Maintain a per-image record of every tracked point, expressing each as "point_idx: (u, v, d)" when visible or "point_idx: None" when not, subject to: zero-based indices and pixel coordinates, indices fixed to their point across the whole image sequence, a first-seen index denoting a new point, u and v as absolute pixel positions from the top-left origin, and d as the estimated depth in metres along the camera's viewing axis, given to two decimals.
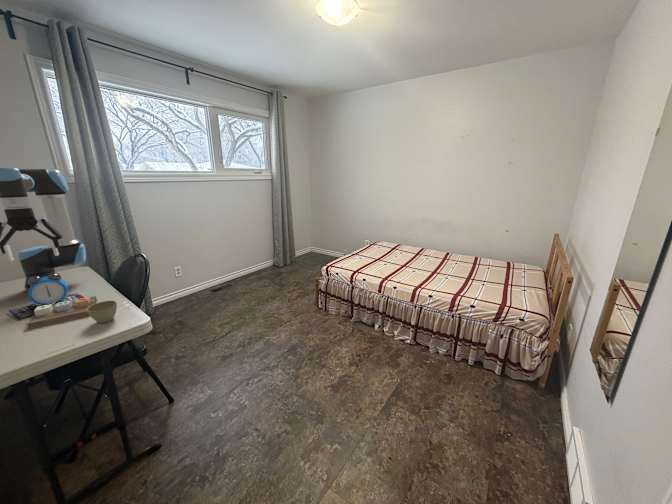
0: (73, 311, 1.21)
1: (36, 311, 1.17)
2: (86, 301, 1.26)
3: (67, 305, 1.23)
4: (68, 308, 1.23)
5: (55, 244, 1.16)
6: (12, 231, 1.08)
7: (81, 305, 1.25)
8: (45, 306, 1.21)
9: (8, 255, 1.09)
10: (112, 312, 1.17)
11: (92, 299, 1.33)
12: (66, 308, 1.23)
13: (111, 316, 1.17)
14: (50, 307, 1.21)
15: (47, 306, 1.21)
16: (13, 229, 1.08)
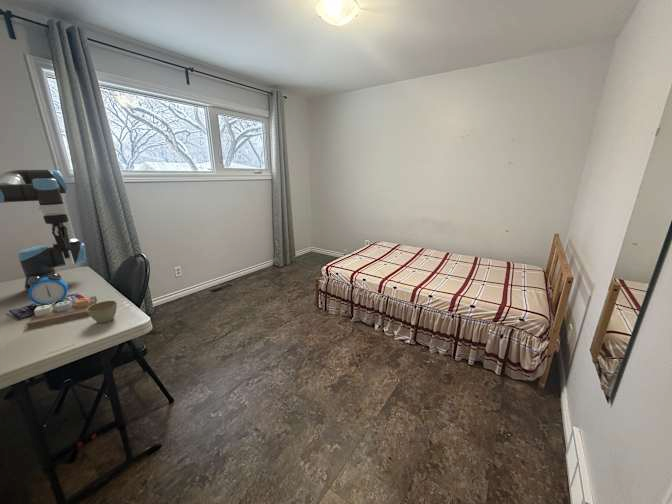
0: (73, 311, 1.21)
1: (36, 311, 1.17)
2: (86, 301, 1.26)
3: (67, 305, 1.23)
4: (68, 308, 1.23)
5: None
6: None
7: (81, 305, 1.25)
8: (45, 306, 1.21)
9: None
10: (112, 312, 1.17)
11: (92, 299, 1.33)
12: (66, 308, 1.23)
13: (111, 316, 1.17)
14: (50, 307, 1.21)
15: (47, 306, 1.21)
16: None
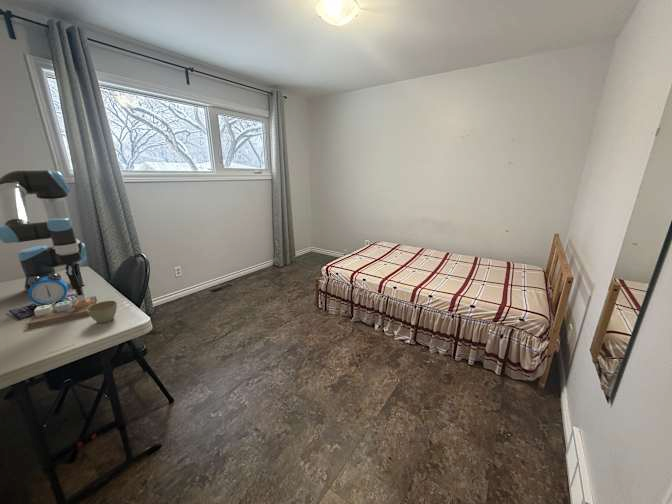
0: (73, 311, 1.21)
1: (36, 311, 1.17)
2: (86, 303, 1.26)
3: (67, 305, 1.23)
4: (68, 308, 1.23)
5: None
6: None
7: None
8: (45, 306, 1.21)
9: None
10: (112, 312, 1.17)
11: (92, 299, 1.33)
12: (66, 308, 1.23)
13: (111, 316, 1.17)
14: (50, 307, 1.21)
15: (47, 306, 1.21)
16: None
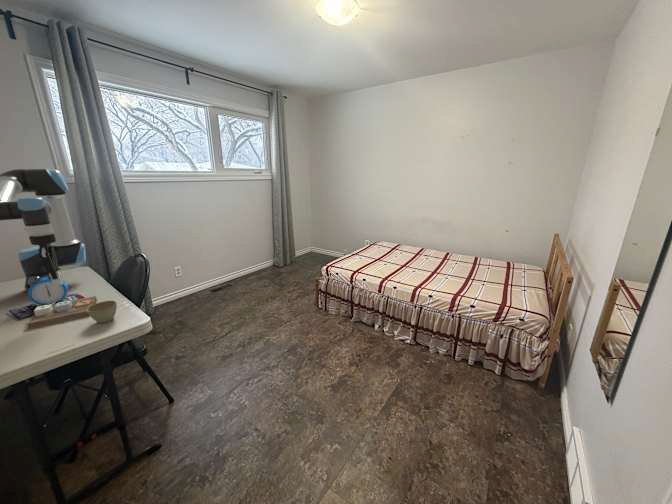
0: (73, 311, 1.21)
1: (36, 311, 1.17)
2: (87, 304, 1.27)
3: (67, 305, 1.23)
4: (68, 308, 1.23)
5: (52, 276, 1.19)
6: None
7: None
8: (45, 306, 1.21)
9: (52, 280, 1.20)
10: (112, 312, 1.17)
11: (92, 299, 1.33)
12: (66, 308, 1.23)
13: (111, 316, 1.17)
14: (50, 307, 1.21)
15: (47, 306, 1.21)
16: None
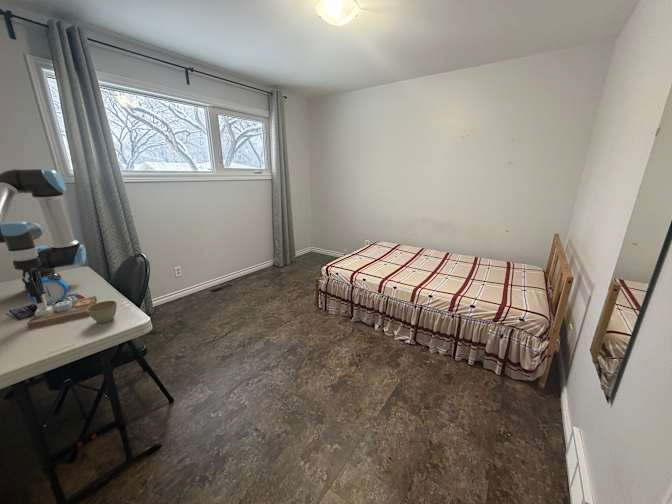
0: (73, 311, 1.21)
1: (37, 313, 1.18)
2: (87, 304, 1.27)
3: (67, 305, 1.23)
4: (68, 308, 1.23)
5: None
6: None
7: None
8: None
9: None
10: (112, 312, 1.17)
11: (92, 299, 1.33)
12: (66, 308, 1.23)
13: (111, 316, 1.17)
14: (51, 309, 1.21)
15: (48, 308, 1.21)
16: None
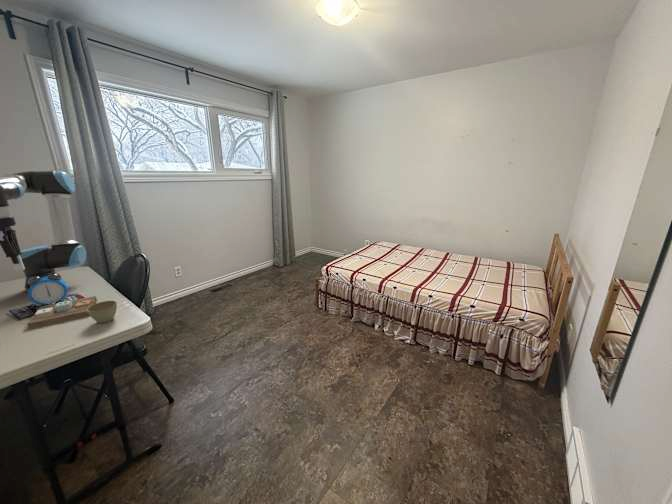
0: (73, 311, 1.21)
1: (37, 314, 1.18)
2: (87, 304, 1.27)
3: (67, 305, 1.23)
4: (68, 308, 1.23)
5: None
6: None
7: None
8: (46, 309, 1.21)
9: None
10: (112, 312, 1.17)
11: (92, 299, 1.33)
12: (66, 308, 1.23)
13: (111, 316, 1.17)
14: (51, 310, 1.22)
15: (48, 309, 1.21)
16: None
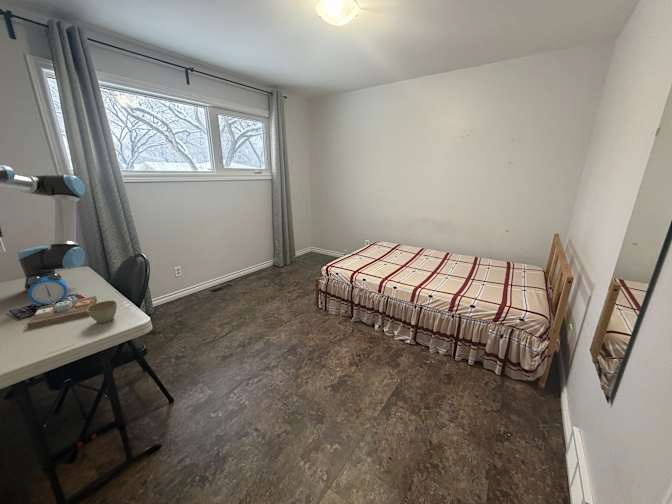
0: (73, 311, 1.21)
1: (37, 314, 1.18)
2: (87, 304, 1.27)
3: (67, 305, 1.23)
4: (68, 308, 1.23)
5: None
6: None
7: None
8: (46, 309, 1.21)
9: None
10: (112, 312, 1.17)
11: (92, 299, 1.33)
12: (66, 308, 1.23)
13: (111, 316, 1.17)
14: (51, 310, 1.22)
15: (48, 309, 1.21)
16: None
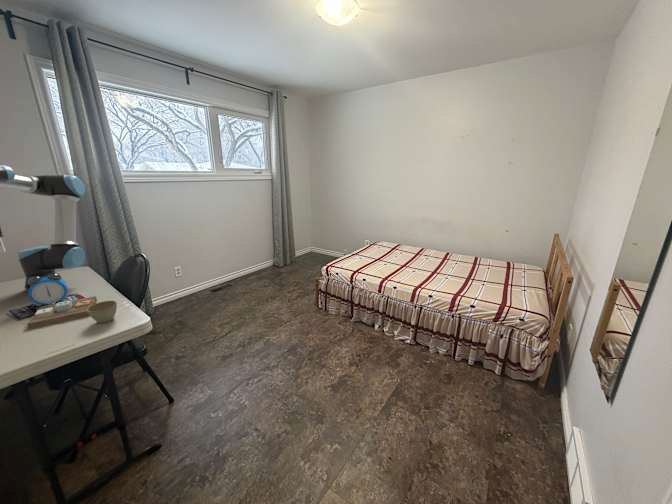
0: (73, 311, 1.21)
1: (37, 314, 1.18)
2: (87, 304, 1.27)
3: (67, 305, 1.23)
4: (68, 308, 1.23)
5: None
6: None
7: None
8: (46, 309, 1.21)
9: None
10: (112, 312, 1.17)
11: (92, 299, 1.33)
12: (66, 308, 1.23)
13: (111, 316, 1.17)
14: (51, 310, 1.22)
15: (48, 309, 1.21)
16: None
